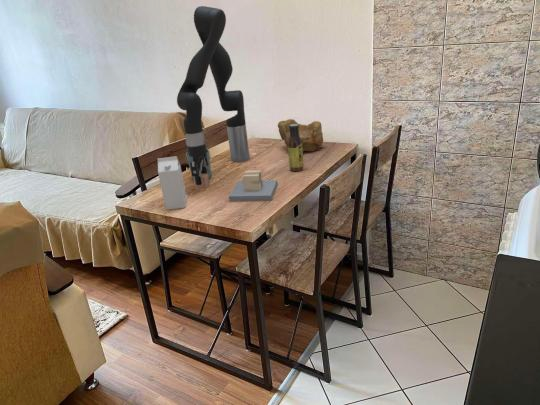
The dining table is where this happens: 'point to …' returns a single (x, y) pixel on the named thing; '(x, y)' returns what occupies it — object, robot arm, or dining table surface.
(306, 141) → the rough brown rock
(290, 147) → the sauce bottle
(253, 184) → the beech cube
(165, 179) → the milk carton
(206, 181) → the terracotta block
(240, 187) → the base board
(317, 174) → the dining table surface
